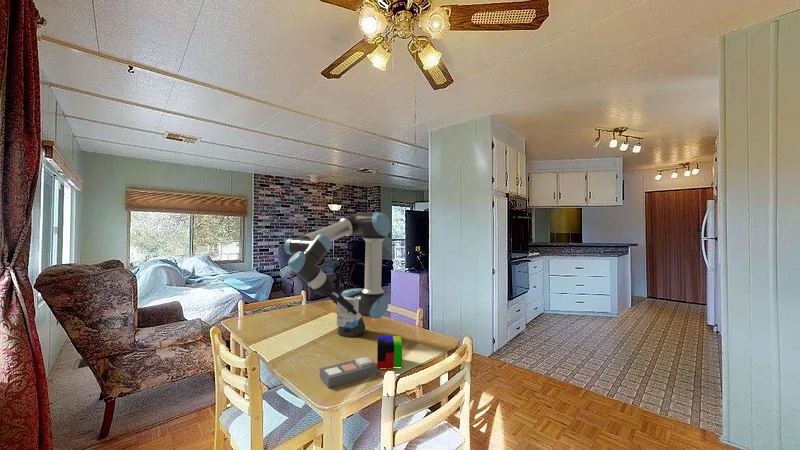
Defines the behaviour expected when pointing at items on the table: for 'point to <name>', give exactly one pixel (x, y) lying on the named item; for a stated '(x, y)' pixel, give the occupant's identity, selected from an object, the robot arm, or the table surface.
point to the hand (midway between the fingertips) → (354, 314)
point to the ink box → (347, 314)
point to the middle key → (348, 367)
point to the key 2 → (363, 362)
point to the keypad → (346, 374)
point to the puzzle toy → (389, 352)
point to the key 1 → (333, 371)
